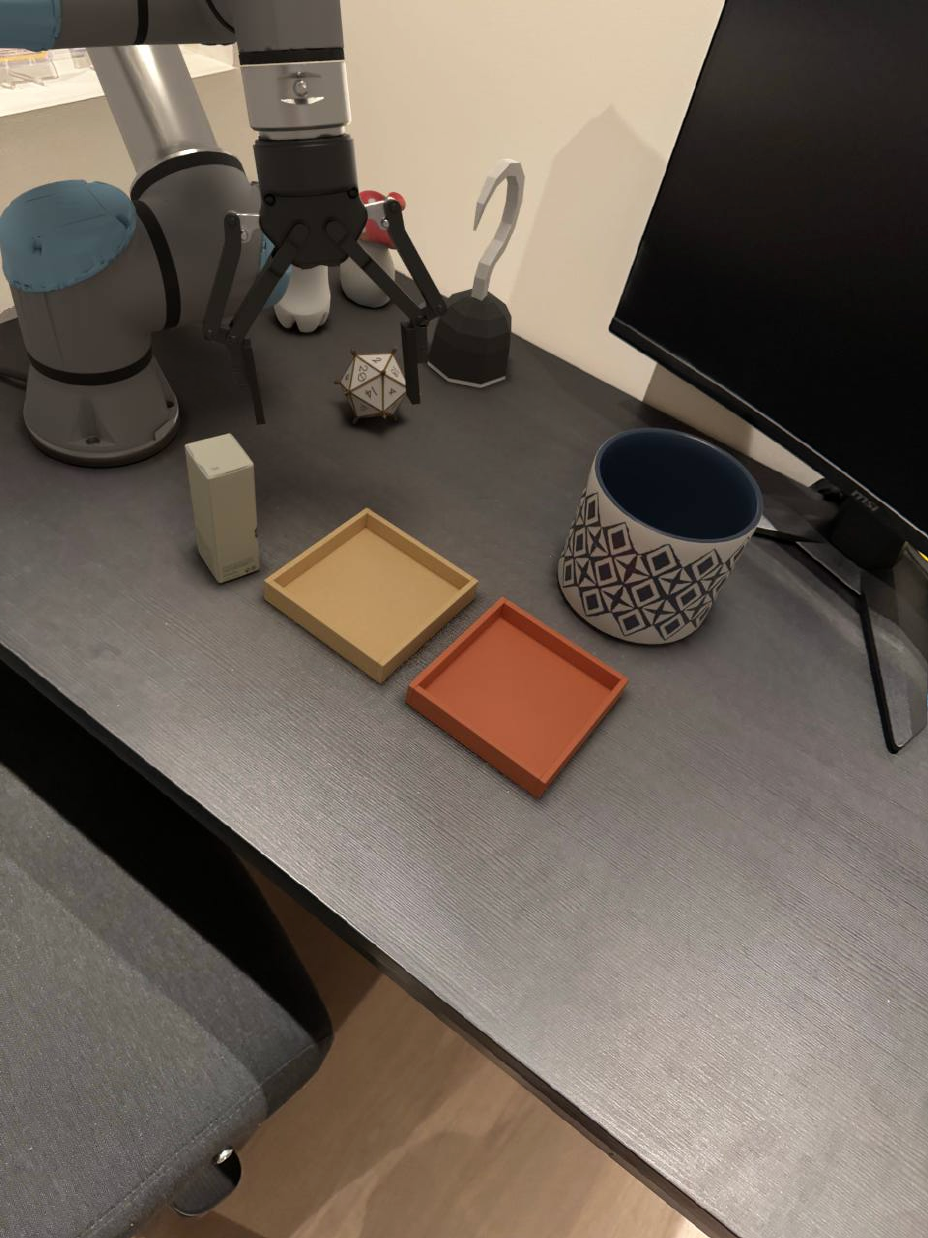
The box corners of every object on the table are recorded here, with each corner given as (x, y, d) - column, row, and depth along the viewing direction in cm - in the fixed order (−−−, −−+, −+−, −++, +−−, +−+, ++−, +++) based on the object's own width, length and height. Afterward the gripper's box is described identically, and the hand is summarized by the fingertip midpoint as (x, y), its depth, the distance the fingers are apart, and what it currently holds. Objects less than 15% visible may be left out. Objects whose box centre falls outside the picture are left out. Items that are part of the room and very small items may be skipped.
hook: (486, 398, 105) (529, 193, 86) (410, 365, 107) (436, 157, 88) (523, 359, 112) (571, 162, 93) (451, 328, 114) (484, 130, 96)
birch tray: (264, 599, 78) (263, 580, 76) (364, 525, 87) (366, 507, 85) (380, 684, 74) (383, 666, 72) (474, 598, 83) (478, 580, 81)
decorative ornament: (406, 307, 116) (419, 196, 105) (368, 318, 113) (377, 205, 101) (365, 275, 120) (373, 165, 109) (327, 285, 116) (332, 172, 105)
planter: (545, 530, 91) (579, 420, 80) (683, 537, 94) (734, 432, 83) (570, 645, 81) (613, 538, 70) (724, 650, 83) (788, 547, 73)
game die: (380, 448, 101) (400, 425, 92) (316, 411, 99) (330, 383, 90) (412, 386, 103) (435, 358, 93) (351, 348, 101) (368, 315, 91)
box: (261, 571, 81) (258, 466, 71) (217, 586, 78) (208, 480, 69) (237, 536, 83) (231, 430, 73) (194, 549, 81) (182, 442, 71)
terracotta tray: (404, 702, 73) (408, 684, 71) (497, 613, 82) (502, 596, 80) (538, 799, 69) (545, 783, 67) (621, 696, 78) (629, 679, 76)
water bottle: (274, 304, 111) (271, 94, 92) (329, 309, 112) (337, 103, 94) (272, 334, 107) (269, 119, 88) (329, 339, 108) (338, 128, 89)
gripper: (124, 148, 57) (192, 443, 69) (476, 124, 62) (485, 404, 74) (131, 140, 64) (193, 413, 75) (452, 119, 68) (463, 379, 80)
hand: (338, 409), depth 75 cm, fingers open, 13 cm apart
